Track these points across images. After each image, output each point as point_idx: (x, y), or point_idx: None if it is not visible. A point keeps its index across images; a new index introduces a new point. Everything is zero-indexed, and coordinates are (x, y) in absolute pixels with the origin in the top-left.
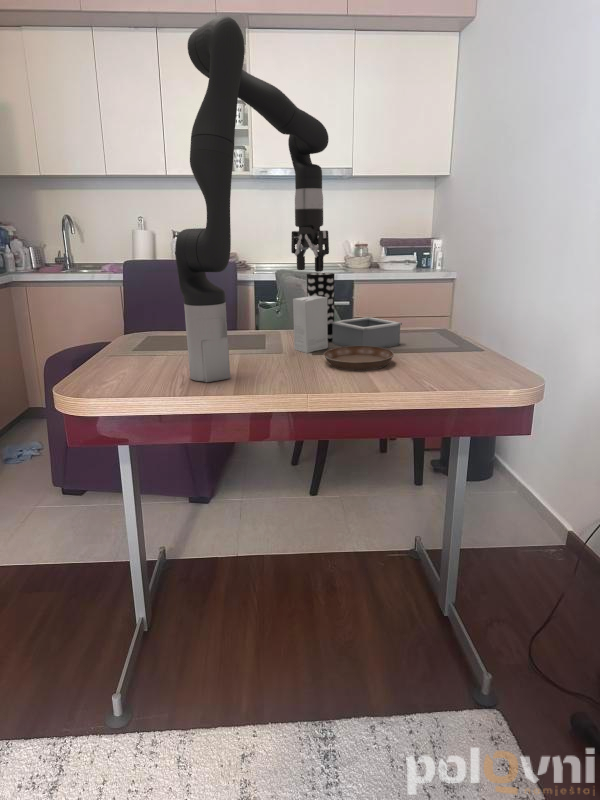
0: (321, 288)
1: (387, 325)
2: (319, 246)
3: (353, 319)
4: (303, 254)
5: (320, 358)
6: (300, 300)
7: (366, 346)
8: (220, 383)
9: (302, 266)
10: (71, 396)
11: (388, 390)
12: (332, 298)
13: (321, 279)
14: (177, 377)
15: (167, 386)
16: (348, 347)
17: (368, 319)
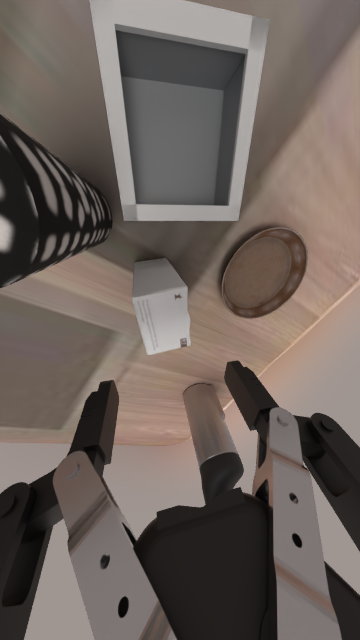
0: (69, 241)
1: (253, 118)
2: (326, 485)
3: (118, 122)
4: (91, 460)
5: (207, 299)
6: (174, 348)
7: (249, 240)
8: (216, 390)
9: (112, 398)
10: (184, 440)
11: (323, 310)
12: (73, 180)
13: (51, 246)
14: (183, 407)
15: None
16: (229, 264)
17: (118, 29)
